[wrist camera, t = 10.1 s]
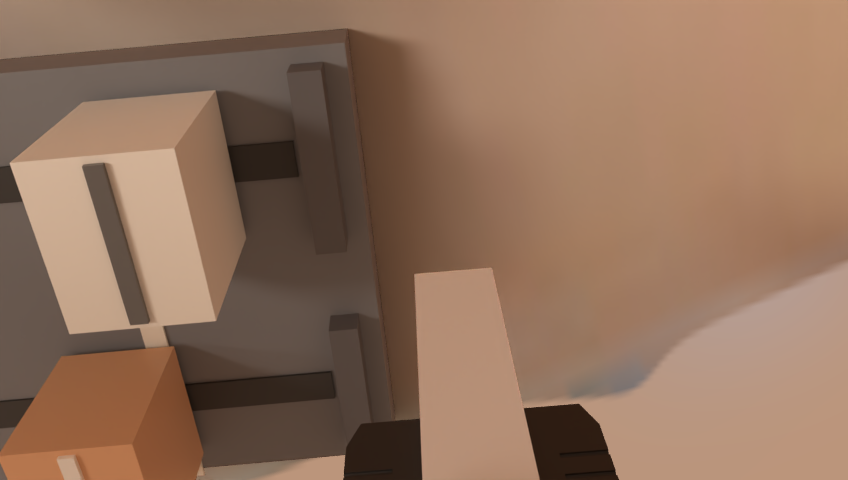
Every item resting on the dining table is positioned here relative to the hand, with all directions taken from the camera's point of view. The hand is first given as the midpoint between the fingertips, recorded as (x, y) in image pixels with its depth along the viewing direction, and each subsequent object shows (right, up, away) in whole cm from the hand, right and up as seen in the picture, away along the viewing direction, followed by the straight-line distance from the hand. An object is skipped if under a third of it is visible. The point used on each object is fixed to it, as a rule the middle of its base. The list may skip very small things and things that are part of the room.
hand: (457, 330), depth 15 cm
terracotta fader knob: (-11, -4, +13) cm, 18 cm away
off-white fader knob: (-9, +4, +9) cm, 13 cm away
